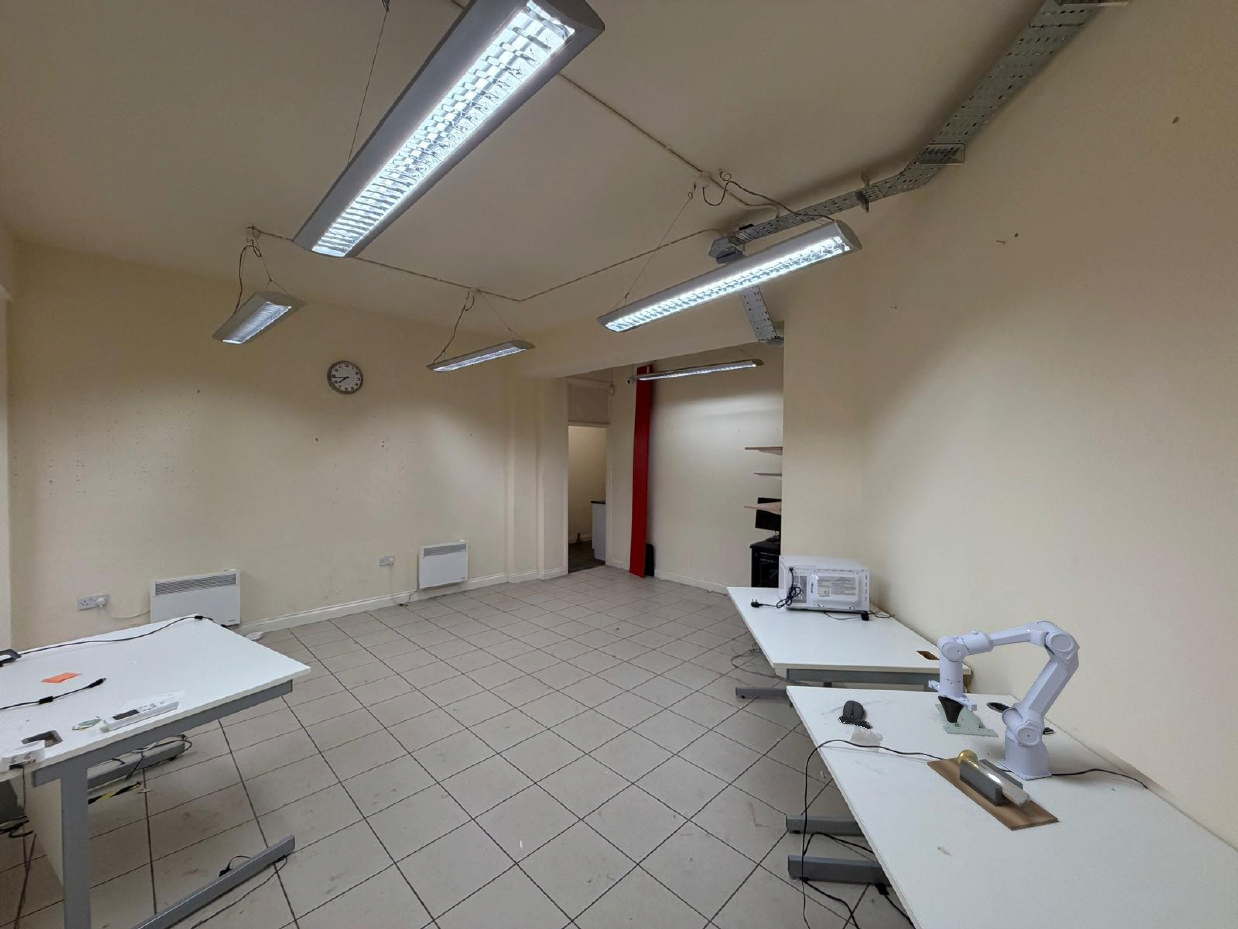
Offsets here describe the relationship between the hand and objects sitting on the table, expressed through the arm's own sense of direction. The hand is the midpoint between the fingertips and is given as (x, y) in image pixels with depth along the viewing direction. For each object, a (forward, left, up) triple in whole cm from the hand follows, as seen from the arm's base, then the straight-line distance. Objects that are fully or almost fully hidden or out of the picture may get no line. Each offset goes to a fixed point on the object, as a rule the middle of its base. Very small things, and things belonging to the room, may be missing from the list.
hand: (952, 721), depth 135 cm
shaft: (+4, +16, -9) cm, 18 cm away
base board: (+4, +15, -10) cm, 19 cm away
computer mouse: (+14, -25, -11) cm, 31 cm away
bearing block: (+4, +15, -10) cm, 19 cm away
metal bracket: (-17, -13, -11) cm, 25 cm away
